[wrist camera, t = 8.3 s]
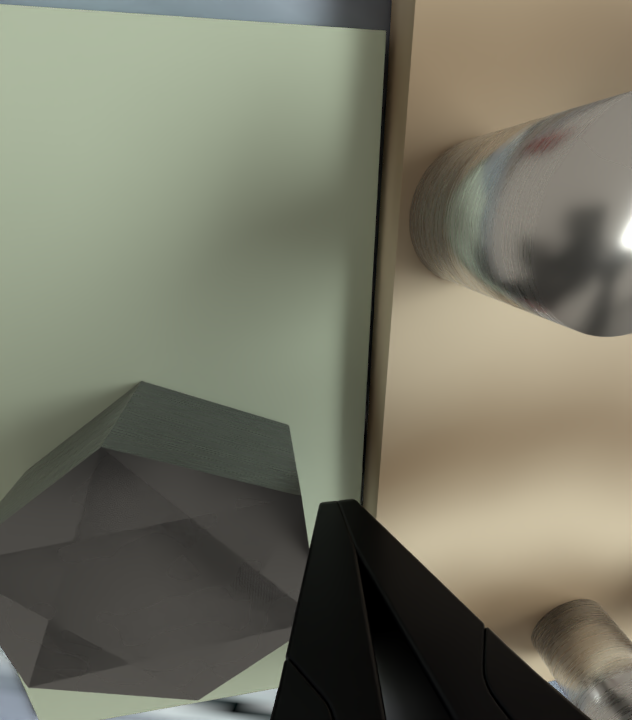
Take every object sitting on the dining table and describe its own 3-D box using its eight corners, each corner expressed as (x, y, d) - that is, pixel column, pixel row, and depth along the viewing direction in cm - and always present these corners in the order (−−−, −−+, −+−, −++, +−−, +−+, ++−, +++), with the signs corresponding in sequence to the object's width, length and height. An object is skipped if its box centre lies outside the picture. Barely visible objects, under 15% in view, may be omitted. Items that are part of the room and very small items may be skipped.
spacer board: (697, 616, 16) (729, 645, 15) (352, 679, 14) (361, 718, 13) (1015, 26, 9) (1121, 2, 8) (393, -31, 7) (420, -76, 6)
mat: (347, 662, 14) (350, 674, 14) (49, 714, 12) (43, 730, 12) (378, 39, 7) (386, 30, 7) (-262, -2, 6) (-298, -17, 5)
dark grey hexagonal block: (311, 575, 11) (327, 669, 9) (99, 621, 11) (59, 734, 8) (279, 359, 9) (289, 414, 6) (-7, 403, 8) (-108, 483, 6)
